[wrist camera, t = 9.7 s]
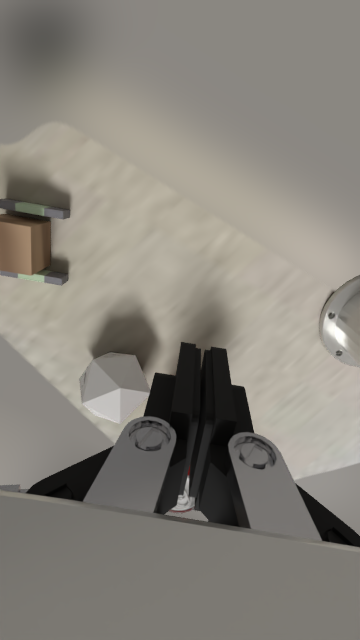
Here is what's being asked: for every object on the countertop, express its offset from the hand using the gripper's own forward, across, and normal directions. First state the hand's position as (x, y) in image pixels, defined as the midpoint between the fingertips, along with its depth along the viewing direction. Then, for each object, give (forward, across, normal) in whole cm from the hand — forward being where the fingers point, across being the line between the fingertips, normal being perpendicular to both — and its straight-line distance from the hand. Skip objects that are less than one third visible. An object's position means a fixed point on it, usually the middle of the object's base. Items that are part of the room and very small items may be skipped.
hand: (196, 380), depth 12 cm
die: (+27, +8, +17) cm, 33 cm away
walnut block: (+26, +20, +2) cm, 33 cm away
